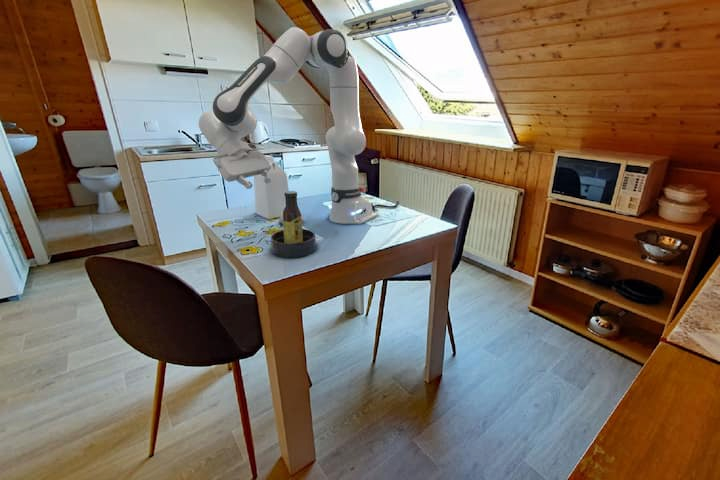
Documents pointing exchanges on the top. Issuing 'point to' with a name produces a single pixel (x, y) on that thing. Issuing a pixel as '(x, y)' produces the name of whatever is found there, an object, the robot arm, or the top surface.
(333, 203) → the robot arm
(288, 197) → the sauce bottle
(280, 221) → the donut
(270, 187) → the milk
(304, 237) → the pan
